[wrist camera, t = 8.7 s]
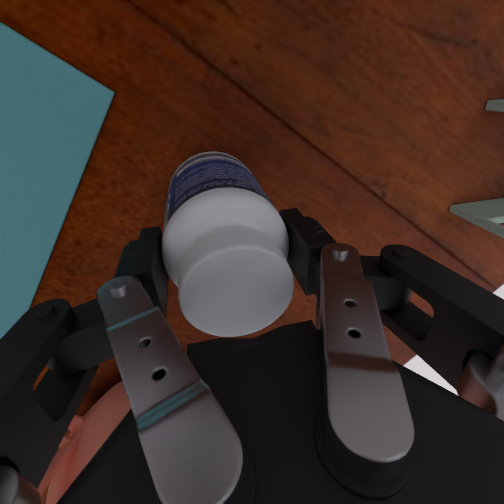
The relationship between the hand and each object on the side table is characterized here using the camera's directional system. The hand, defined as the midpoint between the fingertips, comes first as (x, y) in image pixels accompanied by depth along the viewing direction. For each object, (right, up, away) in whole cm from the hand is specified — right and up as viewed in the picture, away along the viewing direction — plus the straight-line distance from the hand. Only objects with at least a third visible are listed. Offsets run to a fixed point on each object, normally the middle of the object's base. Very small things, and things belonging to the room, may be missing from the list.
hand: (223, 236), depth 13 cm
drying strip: (-14, +2, +4) cm, 15 cm away
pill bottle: (-1, +3, +5) cm, 6 cm away
